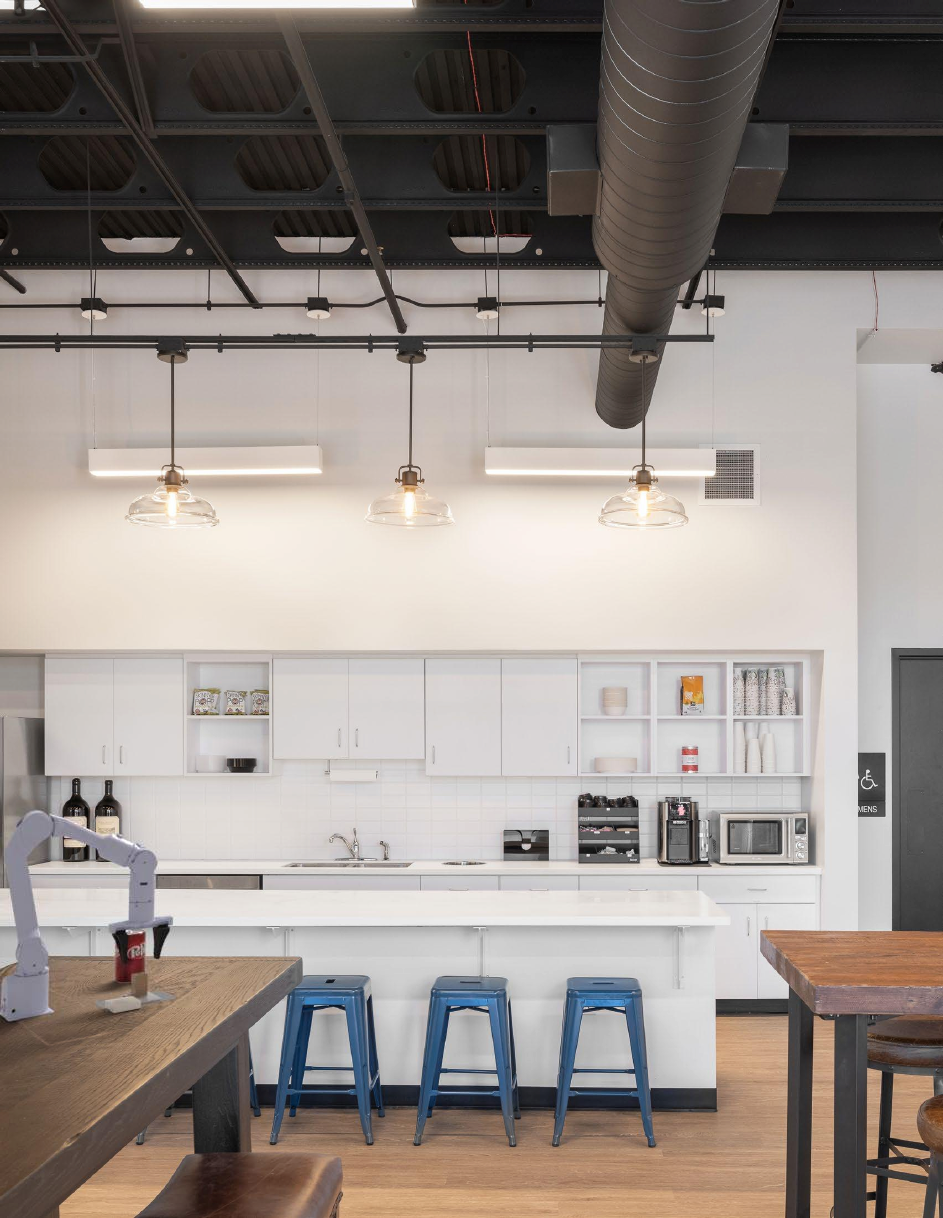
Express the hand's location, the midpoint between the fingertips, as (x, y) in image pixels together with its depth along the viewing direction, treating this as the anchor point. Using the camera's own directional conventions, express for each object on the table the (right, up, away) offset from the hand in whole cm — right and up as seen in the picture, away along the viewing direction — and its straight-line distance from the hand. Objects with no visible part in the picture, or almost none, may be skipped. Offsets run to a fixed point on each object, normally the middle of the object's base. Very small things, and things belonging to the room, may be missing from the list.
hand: (140, 960), depth 237 cm
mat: (0, -8, -4) cm, 9 cm away
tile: (-2, -6, -8) cm, 10 cm away
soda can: (-8, -11, +16) cm, 21 cm away
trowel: (+1, -8, -2) cm, 8 cm away
